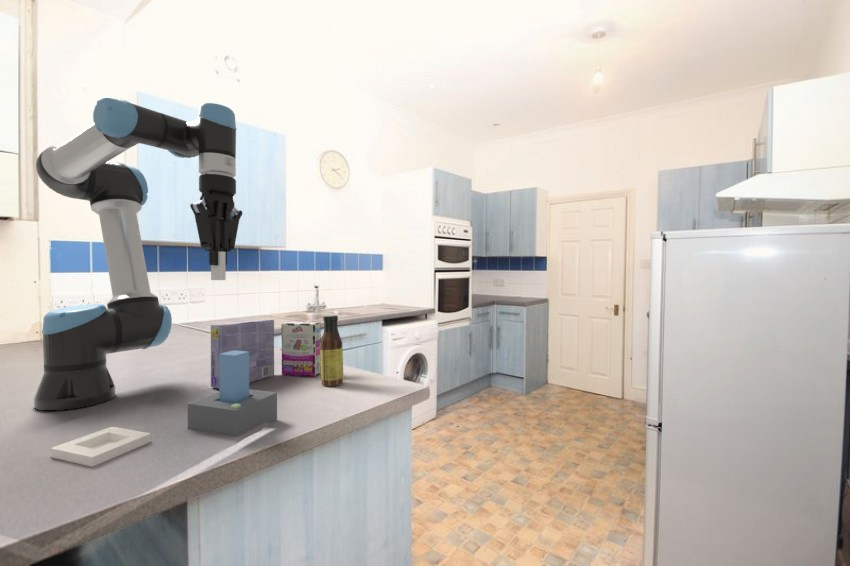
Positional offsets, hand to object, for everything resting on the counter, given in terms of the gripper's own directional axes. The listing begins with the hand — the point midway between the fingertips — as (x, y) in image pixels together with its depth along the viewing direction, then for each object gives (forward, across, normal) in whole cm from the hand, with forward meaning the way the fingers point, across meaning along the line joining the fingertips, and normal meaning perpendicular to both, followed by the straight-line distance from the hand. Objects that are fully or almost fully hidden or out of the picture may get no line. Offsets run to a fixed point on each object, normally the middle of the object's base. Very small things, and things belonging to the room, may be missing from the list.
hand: (218, 279), depth 93 cm
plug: (+29, -6, -10) cm, 31 cm away
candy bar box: (+31, +34, +2) cm, 46 cm away
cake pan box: (+31, +22, +12) cm, 40 cm away
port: (+30, -6, -10) cm, 33 cm away
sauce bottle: (+31, +28, -13) cm, 43 cm away
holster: (+30, -24, +2) cm, 39 cm away
